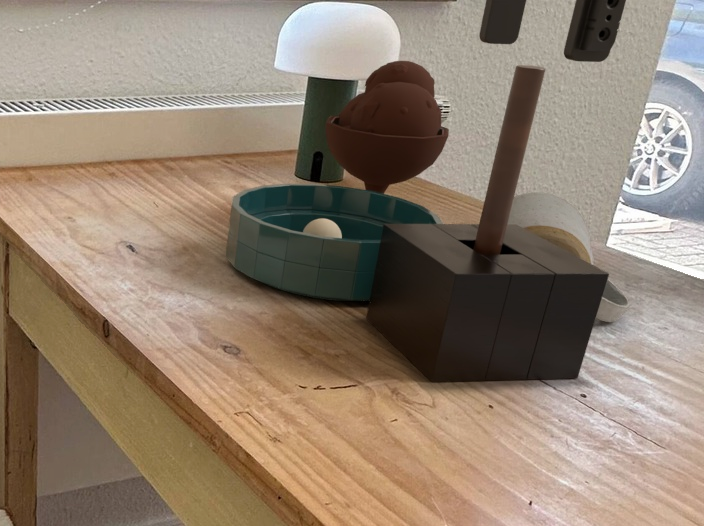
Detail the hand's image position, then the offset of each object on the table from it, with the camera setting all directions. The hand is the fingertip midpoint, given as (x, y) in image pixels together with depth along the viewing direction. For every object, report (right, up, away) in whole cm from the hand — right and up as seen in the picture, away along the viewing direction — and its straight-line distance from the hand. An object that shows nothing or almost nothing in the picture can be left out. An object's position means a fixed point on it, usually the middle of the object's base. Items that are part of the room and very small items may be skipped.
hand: (537, 51), depth 51 cm
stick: (-1, -17, +8) cm, 19 cm away
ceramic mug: (+8, -14, +16) cm, 23 cm away
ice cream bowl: (0, -6, +33) cm, 34 cm away
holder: (-1, -17, +8) cm, 19 cm away
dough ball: (-7, -8, +21) cm, 24 cm away
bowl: (-7, -11, +21) cm, 24 cm away
